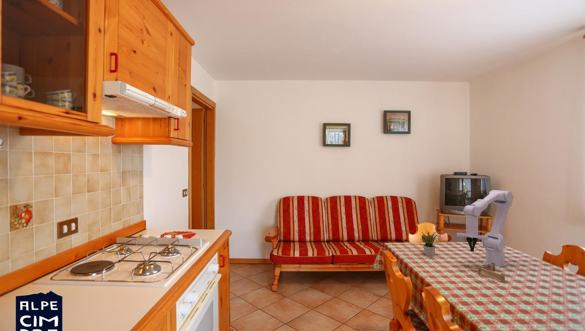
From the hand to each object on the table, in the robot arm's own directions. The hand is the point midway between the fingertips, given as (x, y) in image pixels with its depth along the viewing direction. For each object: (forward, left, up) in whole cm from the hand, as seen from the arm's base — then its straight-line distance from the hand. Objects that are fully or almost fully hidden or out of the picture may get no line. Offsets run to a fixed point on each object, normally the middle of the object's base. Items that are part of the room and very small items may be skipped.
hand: (472, 251), depth 154 cm
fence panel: (-2, +7, -9) cm, 12 cm away
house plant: (+1, -26, -10) cm, 28 cm away
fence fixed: (+5, +13, -10) cm, 17 cm away
